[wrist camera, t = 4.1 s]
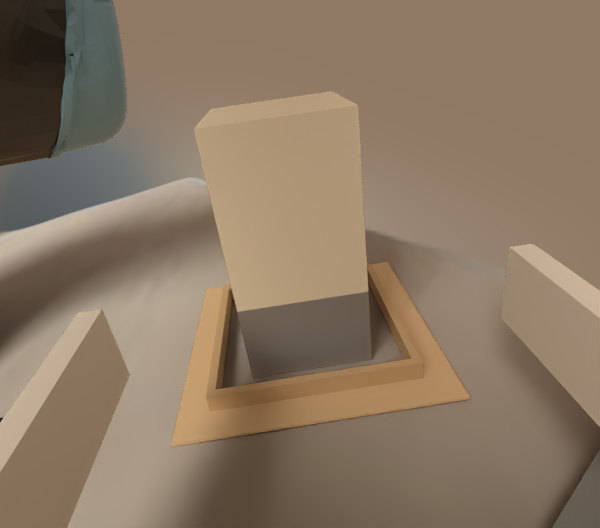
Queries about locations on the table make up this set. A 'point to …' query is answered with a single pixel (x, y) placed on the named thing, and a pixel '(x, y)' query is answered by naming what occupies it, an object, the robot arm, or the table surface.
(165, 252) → the table surface
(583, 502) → the slate board
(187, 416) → the tan square frame
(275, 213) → the beige and grey block
